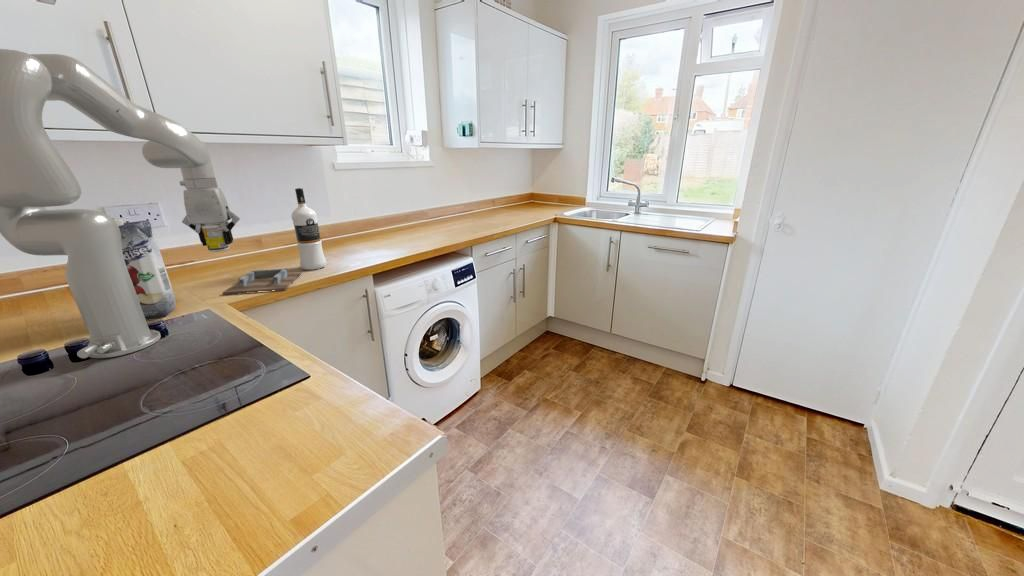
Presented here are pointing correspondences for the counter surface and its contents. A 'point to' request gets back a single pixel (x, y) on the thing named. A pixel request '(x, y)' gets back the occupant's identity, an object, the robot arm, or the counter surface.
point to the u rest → (263, 281)
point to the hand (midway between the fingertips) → (218, 243)
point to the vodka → (307, 235)
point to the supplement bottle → (214, 237)
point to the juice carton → (146, 268)
